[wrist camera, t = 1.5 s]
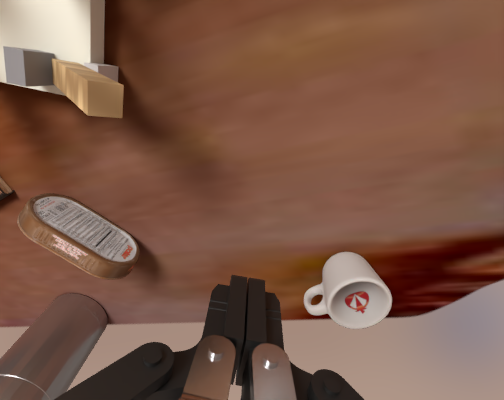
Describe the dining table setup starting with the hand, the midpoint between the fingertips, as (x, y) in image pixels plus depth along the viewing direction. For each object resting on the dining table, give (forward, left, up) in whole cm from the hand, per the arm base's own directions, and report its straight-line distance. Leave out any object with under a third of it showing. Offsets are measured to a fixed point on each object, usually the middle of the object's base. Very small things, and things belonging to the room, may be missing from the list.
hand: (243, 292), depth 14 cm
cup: (+2, -21, -27) cm, 35 cm away
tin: (-24, +2, -27) cm, 36 cm away
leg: (-13, +18, -23) cm, 32 cm away
